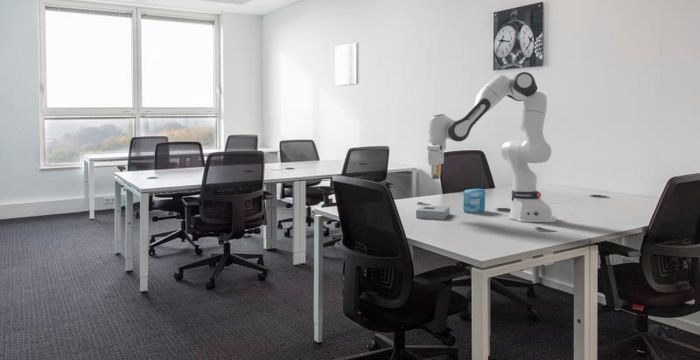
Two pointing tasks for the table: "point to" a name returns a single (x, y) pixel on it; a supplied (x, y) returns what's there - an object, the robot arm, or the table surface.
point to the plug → (436, 176)
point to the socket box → (433, 212)
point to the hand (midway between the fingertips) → (436, 173)
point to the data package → (474, 200)
